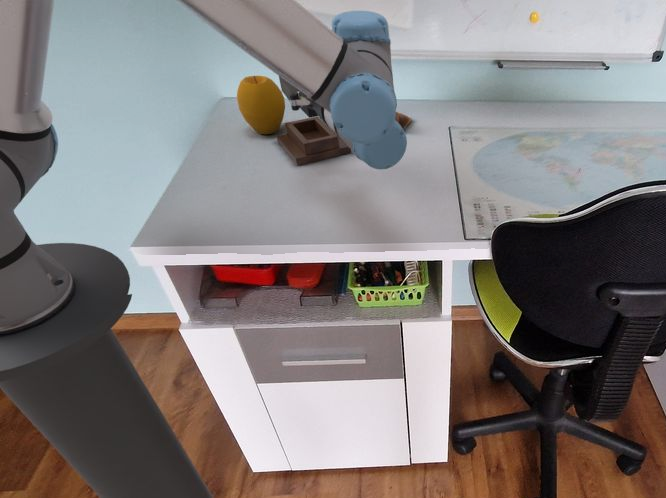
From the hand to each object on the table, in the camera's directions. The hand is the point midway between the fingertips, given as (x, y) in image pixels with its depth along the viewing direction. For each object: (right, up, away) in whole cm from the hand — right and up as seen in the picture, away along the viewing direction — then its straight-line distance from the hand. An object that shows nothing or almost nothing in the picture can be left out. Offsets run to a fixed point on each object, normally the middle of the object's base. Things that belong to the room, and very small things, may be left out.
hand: (295, 65), depth 100 cm
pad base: (-1, -9, +16) cm, 19 cm away
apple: (-13, -4, +21) cm, 25 cm away
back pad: (+3, -8, +1) cm, 8 cm away
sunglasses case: (+10, +1, +26) cm, 28 cm away
